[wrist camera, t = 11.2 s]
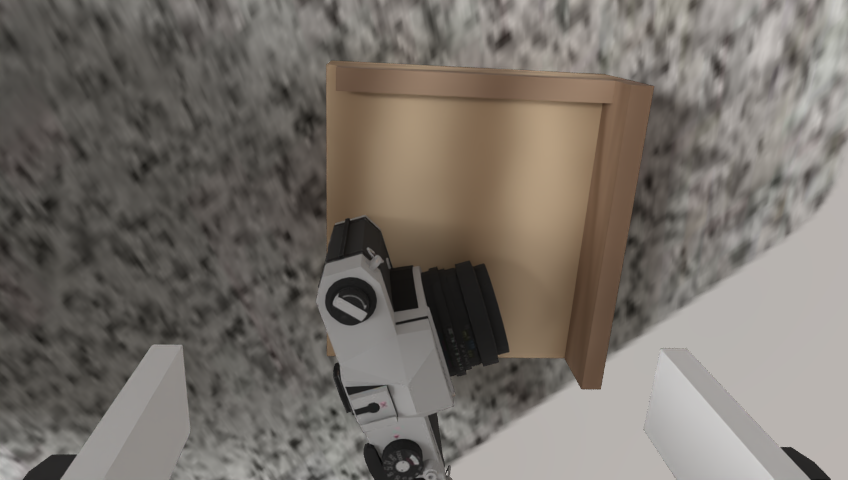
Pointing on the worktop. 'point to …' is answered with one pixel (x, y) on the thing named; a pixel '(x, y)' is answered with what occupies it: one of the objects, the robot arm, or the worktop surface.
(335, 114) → the wooden corner tray
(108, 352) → the worktop surface
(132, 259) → the worktop surface
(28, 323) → the worktop surface
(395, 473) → the camera
